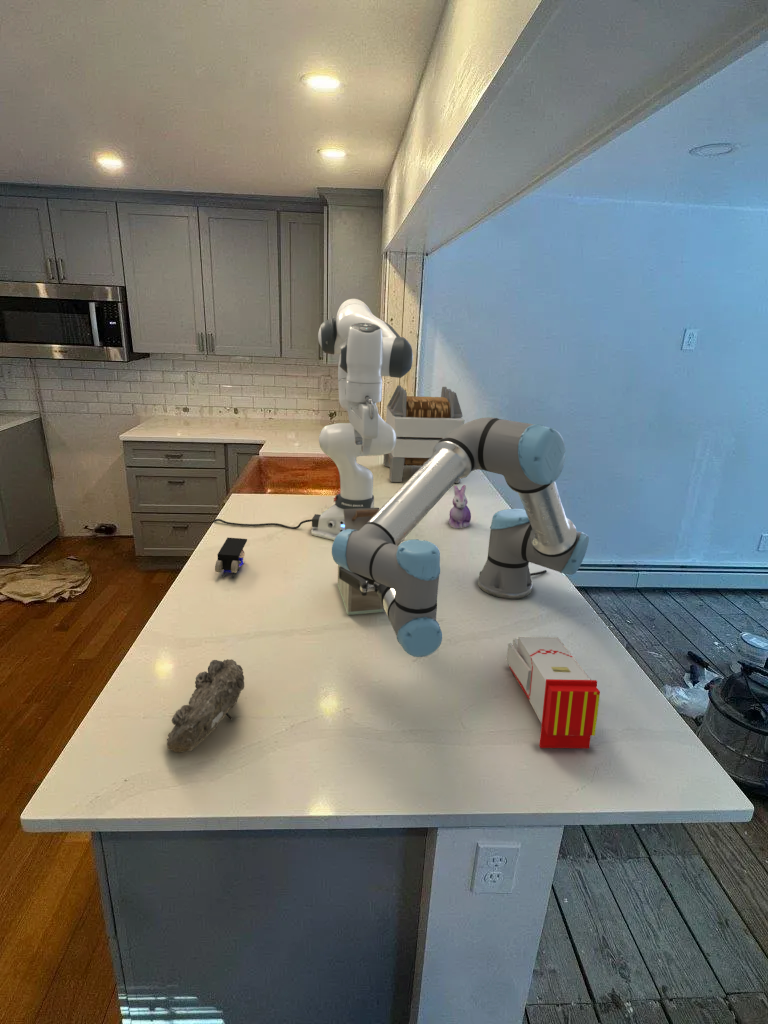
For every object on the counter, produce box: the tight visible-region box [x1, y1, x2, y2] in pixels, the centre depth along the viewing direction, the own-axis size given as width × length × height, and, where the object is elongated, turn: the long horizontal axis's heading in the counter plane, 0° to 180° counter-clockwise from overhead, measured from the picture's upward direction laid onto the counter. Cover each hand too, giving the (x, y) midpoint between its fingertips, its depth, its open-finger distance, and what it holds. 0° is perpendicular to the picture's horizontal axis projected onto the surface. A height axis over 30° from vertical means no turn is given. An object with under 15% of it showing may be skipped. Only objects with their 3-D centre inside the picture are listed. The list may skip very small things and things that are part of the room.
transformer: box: [383, 384, 465, 484], centre depth 268 cm, size 34×33×41 cm
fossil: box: [166, 658, 245, 754], centre depth 106 cm, size 22×10×15 cm
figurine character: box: [214, 537, 248, 578], centre depth 166 cm, size 7×8×15 cm
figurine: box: [448, 484, 472, 529], centre depth 208 cm, size 9×10×15 cm
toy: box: [505, 636, 601, 749], centre depth 115 cm, size 12×13×30 cm
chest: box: [336, 564, 384, 616], centre depth 153 cm, size 17×9×10 cm, turn 14°
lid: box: [343, 507, 381, 531], centre depth 141 cm, size 18×9×9 cm
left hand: (362, 448), depth 143 cm, fingers open, 8 cm apart
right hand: (377, 554), depth 131 cm, fingers open, 13 cm apart
